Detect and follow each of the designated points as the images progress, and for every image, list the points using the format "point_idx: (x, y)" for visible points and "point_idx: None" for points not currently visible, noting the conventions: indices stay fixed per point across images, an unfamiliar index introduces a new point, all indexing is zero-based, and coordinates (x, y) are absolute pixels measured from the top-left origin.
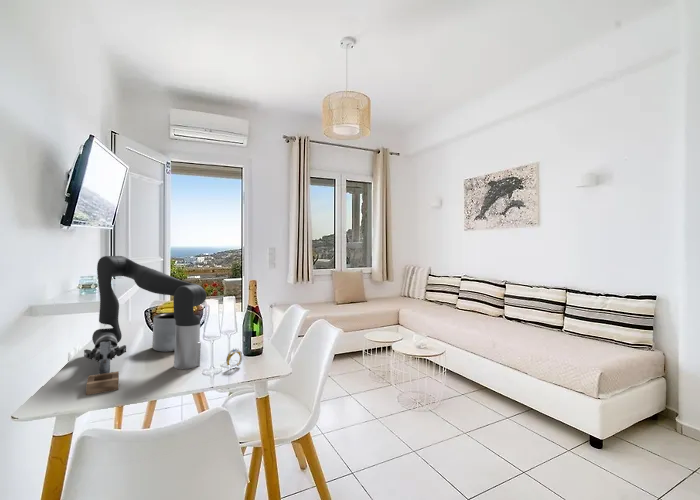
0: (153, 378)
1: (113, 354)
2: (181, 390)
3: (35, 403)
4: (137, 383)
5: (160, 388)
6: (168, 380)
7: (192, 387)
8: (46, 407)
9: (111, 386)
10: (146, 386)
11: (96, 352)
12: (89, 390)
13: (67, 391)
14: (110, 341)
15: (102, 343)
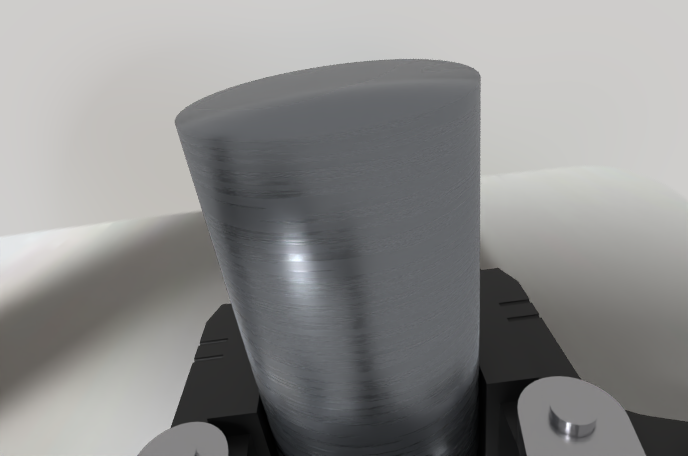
0: (38, 376)
1: (231, 306)
2: (63, 228)
3: (671, 222)
4: (166, 324)
5: (110, 252)
6: (5, 322)
7: (10, 240)
8: (569, 193)
9: None
10: (147, 280)
11: (592, 399)
12: None
13: (599, 312)
14: (184, 116)
15: (391, 60)
